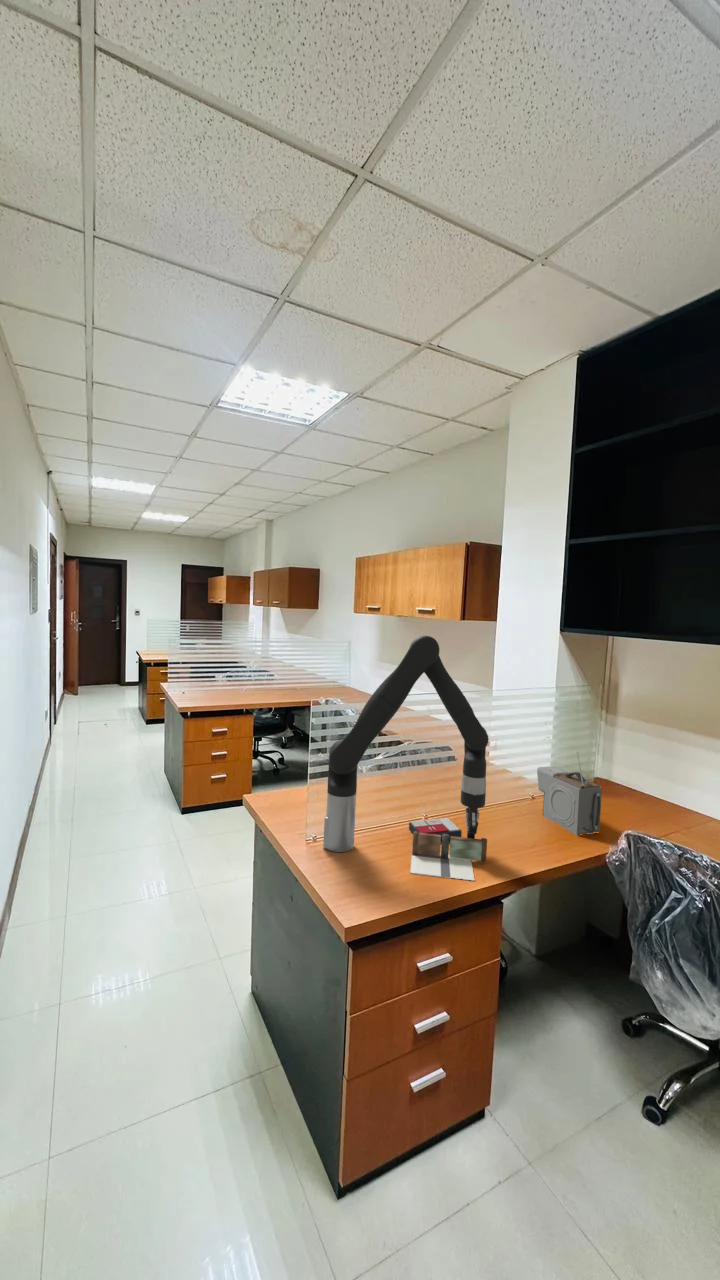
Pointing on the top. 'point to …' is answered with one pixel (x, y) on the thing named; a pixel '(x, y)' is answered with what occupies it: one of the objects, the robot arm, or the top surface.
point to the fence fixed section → (430, 844)
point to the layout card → (442, 867)
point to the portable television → (570, 799)
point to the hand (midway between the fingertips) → (470, 844)
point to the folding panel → (468, 848)
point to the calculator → (435, 827)
